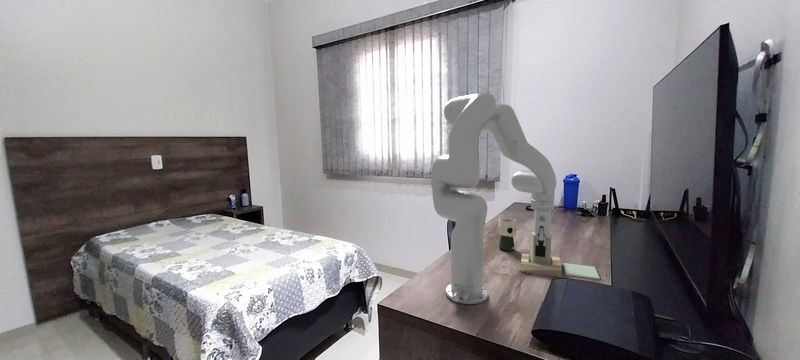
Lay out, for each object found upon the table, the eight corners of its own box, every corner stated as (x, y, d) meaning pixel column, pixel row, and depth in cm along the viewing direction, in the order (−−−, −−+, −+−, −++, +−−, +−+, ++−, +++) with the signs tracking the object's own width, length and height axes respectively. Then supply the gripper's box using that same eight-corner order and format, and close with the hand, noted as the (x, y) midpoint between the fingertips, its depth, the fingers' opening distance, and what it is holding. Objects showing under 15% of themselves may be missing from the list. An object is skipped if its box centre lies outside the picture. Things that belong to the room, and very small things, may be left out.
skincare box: (546, 264, 115) (548, 232, 114) (550, 268, 111) (552, 235, 110) (528, 263, 116) (530, 231, 115) (532, 267, 112) (533, 234, 111)
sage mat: (599, 279, 103) (599, 277, 103) (565, 275, 107) (565, 273, 107) (594, 268, 112) (594, 266, 112) (563, 264, 116) (563, 262, 116)
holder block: (561, 277, 106) (561, 268, 105) (520, 271, 111) (520, 263, 110) (558, 263, 117) (559, 255, 117) (521, 258, 123) (522, 251, 122)
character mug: (504, 254, 128) (505, 223, 126) (491, 249, 134) (491, 220, 132) (521, 249, 134) (522, 219, 132) (508, 244, 140) (508, 216, 138)
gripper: (555, 210, 102) (552, 263, 104) (552, 201, 117) (550, 247, 120) (530, 208, 105) (528, 260, 107) (531, 200, 120) (529, 245, 122)
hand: (540, 253), depth 113 cm, fingers closed on skincare box, 5 cm apart
